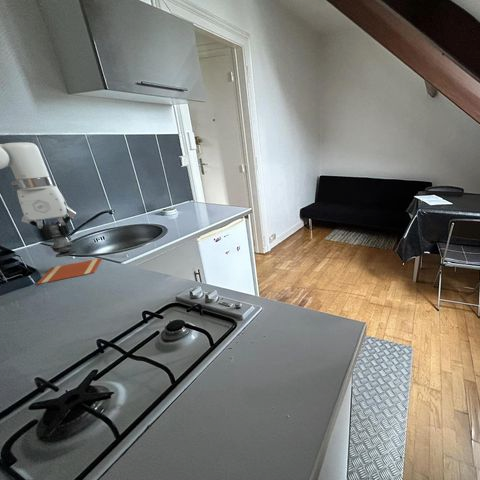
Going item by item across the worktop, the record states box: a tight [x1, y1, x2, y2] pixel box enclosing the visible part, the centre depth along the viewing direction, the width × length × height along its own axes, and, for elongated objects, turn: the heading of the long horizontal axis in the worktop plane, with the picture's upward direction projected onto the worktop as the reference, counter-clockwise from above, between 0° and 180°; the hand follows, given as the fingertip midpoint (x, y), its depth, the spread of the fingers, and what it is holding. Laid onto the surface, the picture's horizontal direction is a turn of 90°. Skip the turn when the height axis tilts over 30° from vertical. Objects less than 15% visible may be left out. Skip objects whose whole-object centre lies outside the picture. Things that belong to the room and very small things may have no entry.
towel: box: [36, 258, 103, 286], centre depth 95 cm, size 15×14×1 cm
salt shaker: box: [48, 221, 76, 258], centre depth 90 cm, size 6×6×12 cm
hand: (58, 236), depth 90 cm, fingers closed on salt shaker, 3 cm apart
